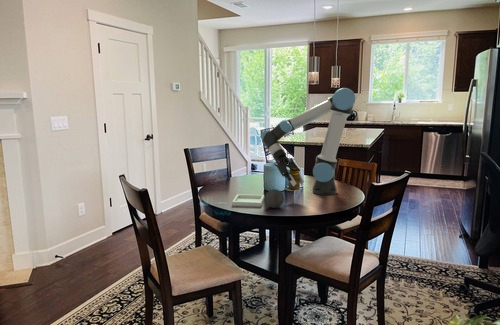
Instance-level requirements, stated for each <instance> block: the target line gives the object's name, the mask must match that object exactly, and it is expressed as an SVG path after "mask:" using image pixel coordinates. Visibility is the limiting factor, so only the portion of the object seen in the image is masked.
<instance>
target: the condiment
mask: <svg viewBox="0 0 500 325" xmlns="http://www.w3.org/2000/svg"><path fill="white" fill-rule="evenodd" d="M299 169H300V168H299V167H298V168H290V169H289V172H288V173H289V174H291V176H292V177H293V179H294V180H295V182H296V183H297V184H296V185H295V186H293V185H292V184H291V182H290V181H289V180H288V187H283V189H284V190H285V191H289V192H294V191H299V190H303V188H301V187H300V186H301V184H300V175H301V173H300V172H299Z"/></svg>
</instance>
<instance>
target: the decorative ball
mask: <svg viewBox="0 0 500 325" xmlns="http://www.w3.org/2000/svg"><path fill="white" fill-rule="evenodd" d="M264 201H265V203H266V205H267V206H268V207H270V208H272V209H278V208H279V207H281V206H282V205H283V203H284V201H285V196H284V194H283V192H281V190H279V189H276V188H275V189H270V190H269V191H267V193H266V195H265V196H264Z"/></svg>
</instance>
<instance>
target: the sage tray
mask: <svg viewBox="0 0 500 325" xmlns="http://www.w3.org/2000/svg"><path fill="white" fill-rule="evenodd" d="M264 201H265V195H264V194H243V193H242V194H241V193H238V194H236V195H235V197H234V198H233V200H232V201H231V205H232V207H246V208H248V207H249V208H262V205H263V203H264Z"/></svg>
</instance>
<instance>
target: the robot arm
mask: <svg viewBox="0 0 500 325" xmlns="http://www.w3.org/2000/svg"><path fill="white" fill-rule="evenodd" d="M355 102H356V94H355V92H354V91H353V90H352V89H350V88H348V87H342V88H338V89H336V91H335V92H334V94H333V95H331V96H329V97H328V98H327V100H325V101H323V102H321V103H319V104H317V105H315V106H313V107H310V108H309V109H307V110H305V111H303V112H301V113H299V114H297V115H295V116H293V117H291V118H289V119H286V118H285V119H283V120H280V122H279V123H278V124H277V125H276V126H274V127H273V128H272V129H271V130H270V129H265V130H264V131H262V132H261V133H260V136H259V138H260V140H261V141H262V143H263V145H265V147H266V149H267V151H269V153H270V155H271V156H272V158H273V159H274V161H275V162H274V163H273V164H274V165H275V167H276V169H278V171H279V173H280V175H281V177H282V178H283V177H284V178H285V179H287V180H288V182H289V181H290V182H291V184H292V185H293V186H295V185H296V184H297V183H296V182H295V180H294V179H293V177H292V176H291V174H289V173H290V172H289V170H290V168H299V167H298V165H297V164H296V162H295V161H294V160H293V158H292V157H290V158H288V157H287V153H286V151H285V150H284V149H283V147H282V146H281V143H279V141H280V140H281V139H282V138H284V136H286V135H288V134H291V133H292V132H294V131H296V130H297V129H298V130H299V129H300V128H303V127H304V126H305V125H308V124H310V123H312V122H314V121H316V120H318V119H320V118H323V117H324V116H327V115H329V114H330V113H331V115H330V120H329V123H328V127H327V130H326V133H325V137H324V141H323V145H322V149H321V152H320V154H318V155H317V156H316V157H315V163H314V166H313V168H312V175H313V177H314V179H315V180H314V182H313V183H314V184H313V185H312V190H311V191H312V192H311V193H313V194H316V195H319V196H334V195H336V194H337V193H338V189H337V186H336V182H335V174H336V173H335V170H336V168H337V162H338V160H337V154H338V150H339V146H340V143H341V140H342V136H343V132H344V129H345V125H346V122H347V118H348V117H349V116H351V114H352V111H353V109H354V108H353V107H354V105H355ZM288 169H289V170H288ZM300 172H301V169H300V168H299V173H300ZM304 183H305V180H304V179H303V176H302V175H301V174H300V185H303V184H304Z"/></svg>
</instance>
